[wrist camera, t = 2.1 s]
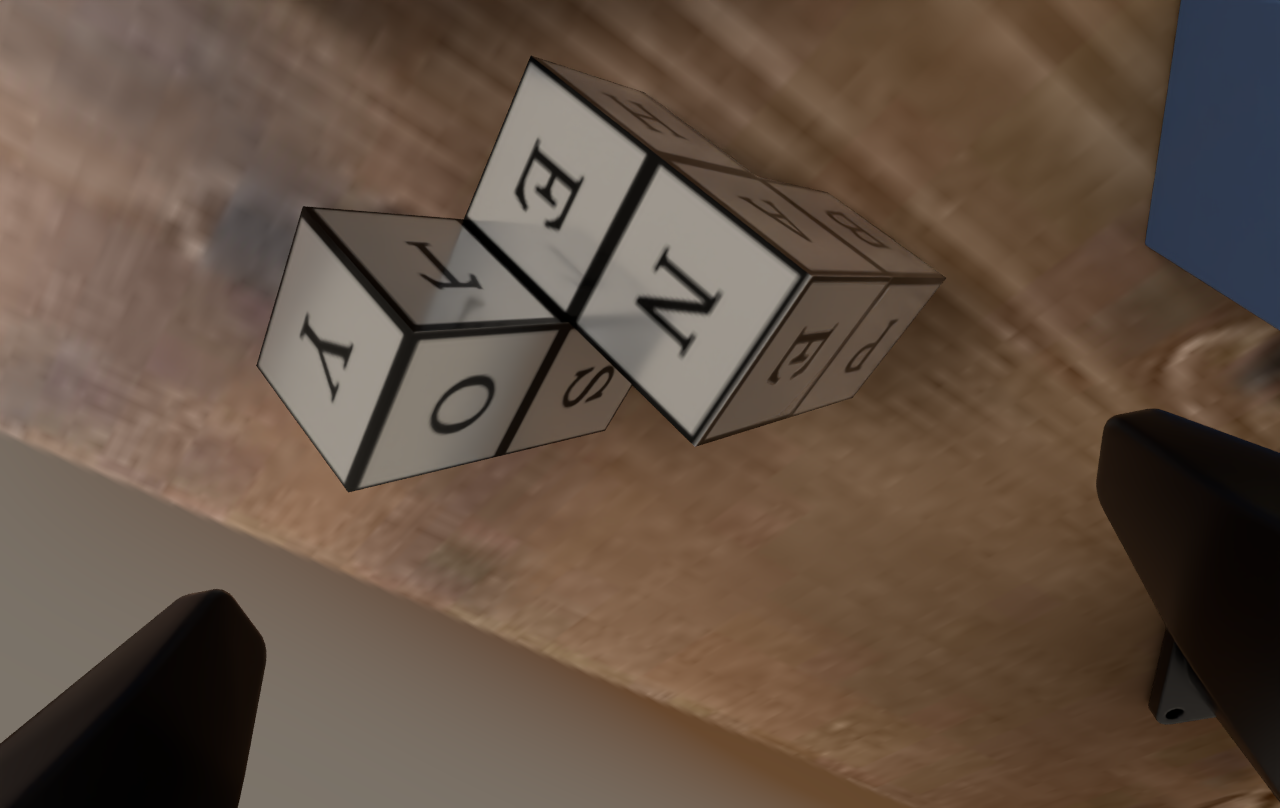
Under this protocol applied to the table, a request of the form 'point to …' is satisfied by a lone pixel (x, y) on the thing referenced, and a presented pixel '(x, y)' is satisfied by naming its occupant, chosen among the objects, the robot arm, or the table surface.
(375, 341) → the building blocks
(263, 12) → the table surface
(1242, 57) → the blue block
